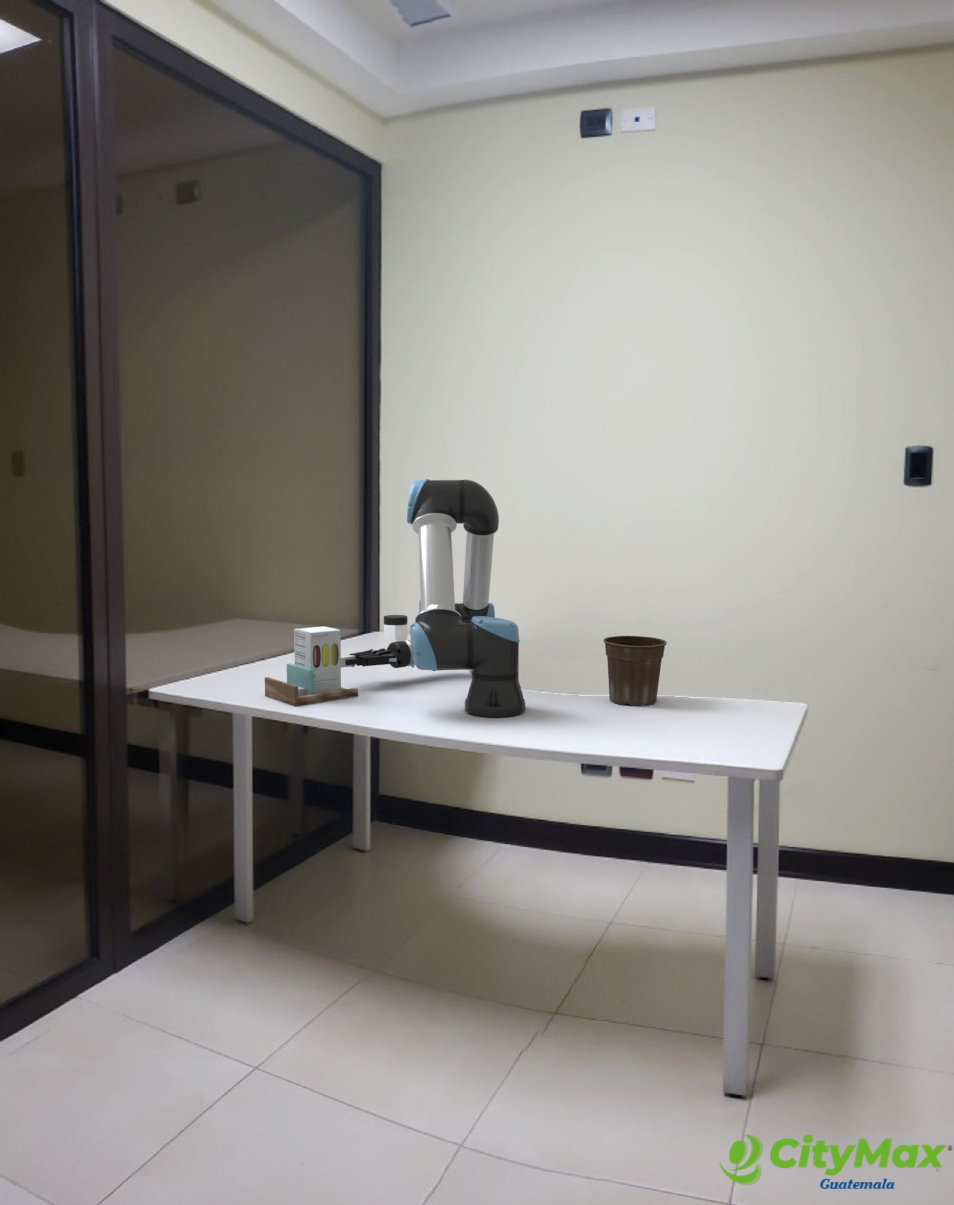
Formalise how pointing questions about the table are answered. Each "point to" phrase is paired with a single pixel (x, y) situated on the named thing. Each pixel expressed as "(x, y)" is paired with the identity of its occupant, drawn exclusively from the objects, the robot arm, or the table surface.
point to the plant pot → (634, 668)
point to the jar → (394, 629)
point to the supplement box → (320, 656)
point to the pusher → (301, 679)
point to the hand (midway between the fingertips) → (333, 663)
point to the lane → (290, 695)
